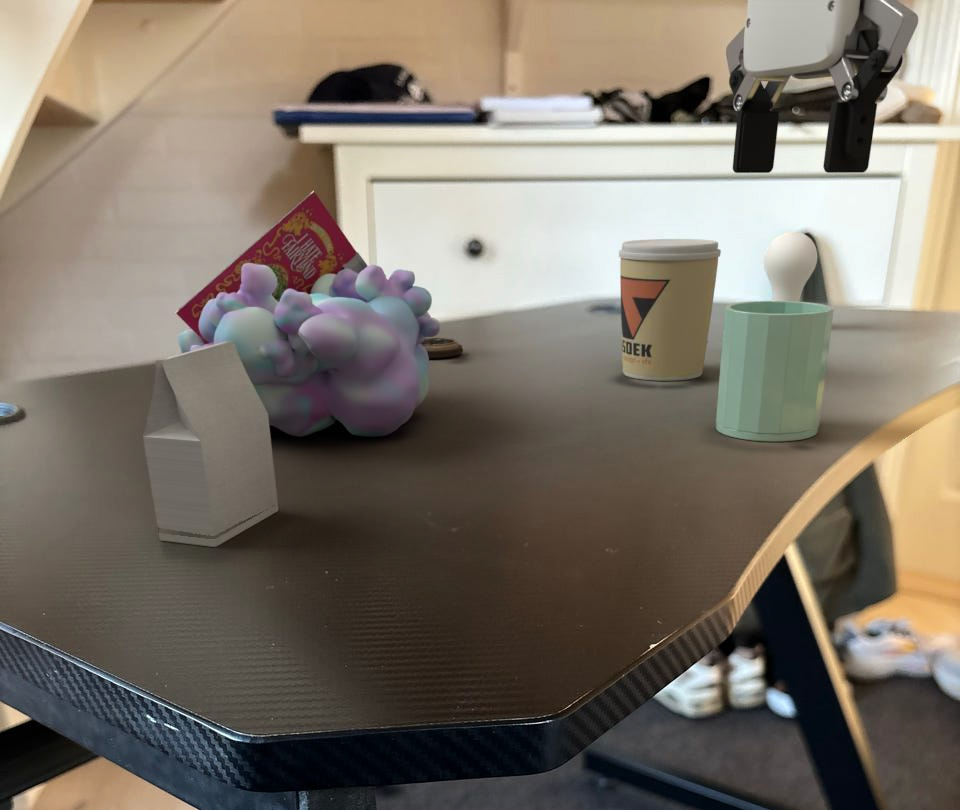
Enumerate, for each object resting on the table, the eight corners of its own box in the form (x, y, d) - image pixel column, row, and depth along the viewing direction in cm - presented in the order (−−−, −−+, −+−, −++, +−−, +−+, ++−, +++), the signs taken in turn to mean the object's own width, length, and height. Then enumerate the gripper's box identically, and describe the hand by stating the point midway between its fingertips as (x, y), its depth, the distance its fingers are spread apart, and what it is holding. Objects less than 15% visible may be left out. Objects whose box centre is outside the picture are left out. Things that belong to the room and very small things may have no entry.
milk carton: (278, 510, 61) (260, 341, 57) (215, 547, 56) (189, 362, 51) (226, 505, 63) (204, 339, 58) (159, 540, 57) (130, 359, 53)
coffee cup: (598, 369, 101) (601, 241, 96) (679, 362, 104) (687, 237, 99) (643, 386, 93) (650, 247, 88) (730, 377, 96) (741, 242, 91)
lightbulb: (815, 326, 124) (826, 230, 119) (800, 333, 119) (812, 233, 115) (766, 323, 127) (775, 229, 122) (750, 330, 122) (759, 232, 118)
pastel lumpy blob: (310, 410, 65) (384, 148, 65) (75, 371, 74) (141, 141, 74) (446, 494, 83) (504, 289, 84) (244, 454, 92) (297, 270, 93)
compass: (458, 360, 108) (456, 288, 104) (386, 359, 109) (382, 288, 106) (470, 347, 115) (469, 280, 112) (402, 347, 116) (399, 280, 113)
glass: (813, 419, 80) (827, 301, 76) (821, 443, 73) (838, 314, 69) (715, 417, 81) (725, 300, 78) (715, 440, 75) (725, 313, 71)
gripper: (990, -166, 56) (933, 172, 63) (790, -96, 71) (762, 172, 78) (886, -182, 54) (839, 172, 61) (700, -106, 68) (680, 173, 75)
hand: (796, 172), depth 69 cm, fingers open, 9 cm apart
